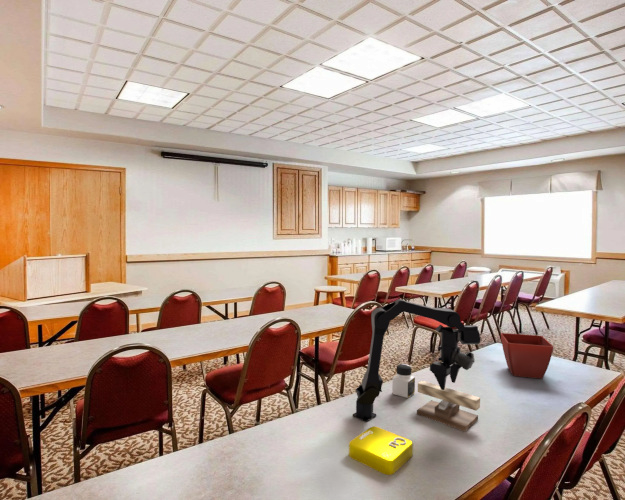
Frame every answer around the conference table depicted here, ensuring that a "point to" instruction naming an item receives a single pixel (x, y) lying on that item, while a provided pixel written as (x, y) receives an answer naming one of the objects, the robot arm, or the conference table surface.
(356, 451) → the element tile
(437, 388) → the beech stick
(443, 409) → the balance stand
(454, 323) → the robot arm
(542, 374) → the plant pot
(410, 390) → the medicine bottle
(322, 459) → the conference table surface
